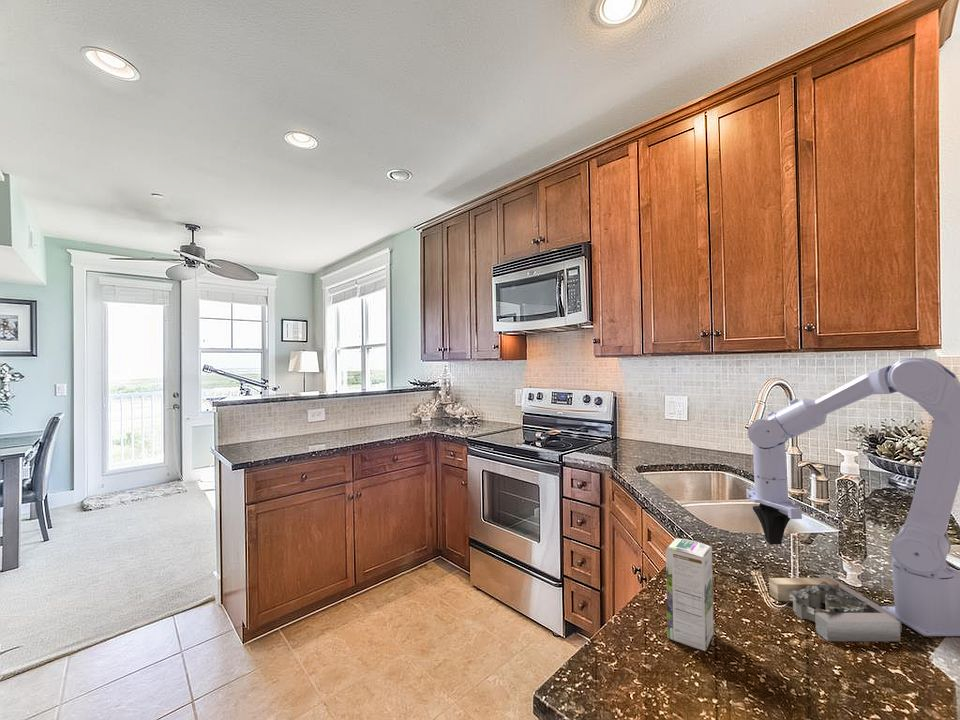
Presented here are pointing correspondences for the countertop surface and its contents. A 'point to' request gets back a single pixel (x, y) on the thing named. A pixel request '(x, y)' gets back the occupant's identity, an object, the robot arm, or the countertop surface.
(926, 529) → the robot arm
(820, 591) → the egg carton
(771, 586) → the block
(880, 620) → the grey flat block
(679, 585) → the syrup box
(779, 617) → the countertop surface
